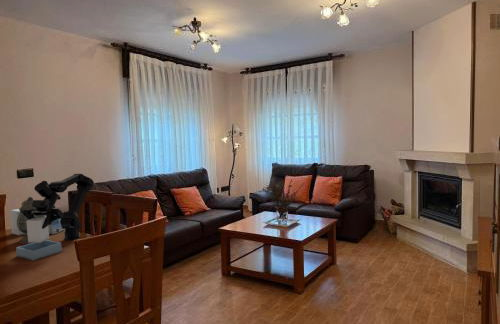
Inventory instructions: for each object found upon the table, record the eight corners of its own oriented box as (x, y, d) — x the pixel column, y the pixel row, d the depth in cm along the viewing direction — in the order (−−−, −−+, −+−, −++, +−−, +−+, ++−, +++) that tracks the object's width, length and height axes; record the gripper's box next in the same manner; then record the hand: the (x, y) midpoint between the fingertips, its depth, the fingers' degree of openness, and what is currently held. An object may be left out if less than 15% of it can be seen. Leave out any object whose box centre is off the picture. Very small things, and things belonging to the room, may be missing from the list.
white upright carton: (37, 238, 168) (35, 217, 167) (49, 238, 167) (47, 217, 166) (28, 242, 161) (26, 220, 160) (40, 242, 161) (39, 220, 160)
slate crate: (45, 247, 174) (45, 239, 174) (61, 251, 167) (61, 242, 167) (16, 256, 162) (16, 247, 161) (32, 260, 155) (32, 251, 155)
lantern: (19, 245, 180) (15, 200, 179) (17, 239, 191) (14, 197, 190) (48, 239, 189) (45, 196, 187) (45, 234, 200) (42, 194, 198)
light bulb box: (53, 234, 201) (51, 216, 200) (43, 233, 202) (42, 216, 201) (66, 229, 211) (65, 213, 210) (57, 229, 213) (56, 212, 212)
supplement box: (18, 235, 200) (16, 211, 199) (11, 233, 204) (9, 210, 203) (34, 231, 207) (32, 208, 206) (27, 230, 212) (26, 207, 211)
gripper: (23, 193, 167) (8, 220, 157) (58, 193, 166) (45, 219, 156) (35, 205, 175) (21, 231, 165) (69, 205, 174) (57, 231, 164)
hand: (36, 228), depth 162 cm, fingers closed on white upright carton, 6 cm apart
